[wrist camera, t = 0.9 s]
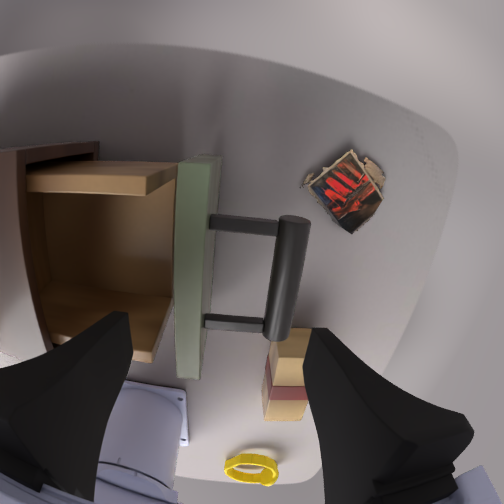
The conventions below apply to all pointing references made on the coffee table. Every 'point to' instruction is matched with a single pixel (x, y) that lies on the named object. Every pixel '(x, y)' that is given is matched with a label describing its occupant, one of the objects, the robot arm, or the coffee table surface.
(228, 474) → the yellow rubber band ring
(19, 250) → the cabinet
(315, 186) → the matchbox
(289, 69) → the coffee table surface
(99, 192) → the pullout
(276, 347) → the tan red striped block
